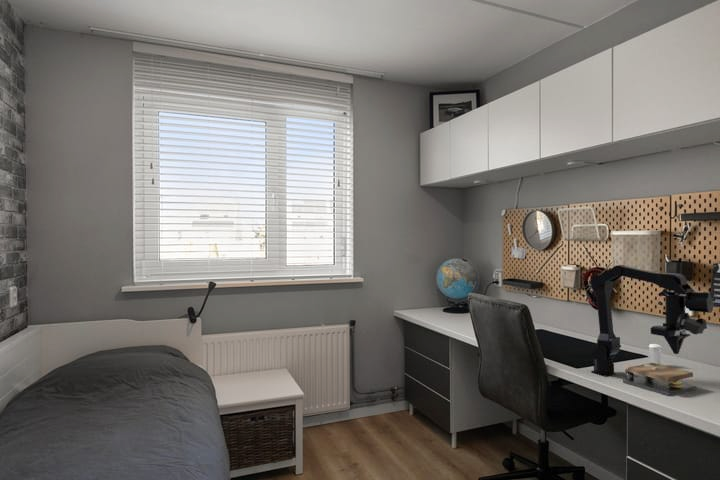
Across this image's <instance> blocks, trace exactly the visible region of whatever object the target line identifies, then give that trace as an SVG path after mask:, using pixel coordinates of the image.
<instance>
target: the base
mask: <svg viewBox="0 0 720 480" xmlns="http://www.w3.org/2000/svg"><path fill="white" fill-rule="evenodd" d="M634 374H635V373H633V372H631V373H626V372H625V375H626V378H623V379H622V383H623V384H626V385H630V386H633V387H636V388H640V389H643V390H646V391H650V392H654V393H657V394H660V395H663V396H666V397H669V396H674V395H679V394H682V393H686V392H690V391H695V390H697V388H698V387H697V385H695V384H691V383H687V382H683V381H682V379H680V380H675V381H671V382H666V381H662V380H659V379H655V378H651V377H648V376H644V375H638V376H634Z"/></svg>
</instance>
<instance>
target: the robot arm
mask: <svg viewBox="0 0 720 480" xmlns="http://www.w3.org/2000/svg"><path fill="white" fill-rule="evenodd" d="M622 277H623V278H624V277H625V278H630V279H635V280H636V281H637V280H638V281H643V282H647V283H652V284H654V285H656V286H657V287H660V288H662V290H661V291H660V292H659V293H657V295H658V297H659V296H660V297H665V298H664V305H665V307H664V310H665V311H662V315H663V316H664V315H665V322H662V325H661V324H660V325H653V326H651V327H650V334H651V335H656V336H661V337H663V338H664V339H665V341H666V342H667V344H668V346H669V347H670V349H671V351H672V352H673V354H675V355H678V354H680V351H681V348H682V345H683V342H684V340H685V339H686V338H688V337H690V336H691V334H693V335H698V334H699V335H700V334H703V333H704V330H706V329H707V328H708V326H707V320H706V319H705V318H702V317H700V318H697V319H695V318H691V317H690V314H689V312H697V313H698V312H699V313H705V314H706V313H708V314H711V313H712V312H713V310H714V307H715V306H714V301H713V297H712V296H711V292H708V291H704V292H702V291H699V292H698V291H695V290H694V289H693V288H692V286H691V285H690V284H689V283H688V280H687V278H686V277H685V275H683V274H682V273H674V272H673V273H669V272H656V271H655V272H654V271H651V270H650V271H649V270H646V269H641V268H635V267H631V266H630V267H629V266H626V265H624V264H620V265H619V264H617V265H614V266H613V267H612V268H610V269H608V270H606V271H603V272H602V273H600V274H594V275H593V276H592V277H590V284H591V289H592V292H593V294H594V295H595V297H596V305H597V315H598V316H597V317H598V326H599V327H598V328H599V333H598V337H597V340H596V348H595V349H593V351H591V352H590V353H589V354H590V358H591V359H593V370H590V373H593V374H596V375H599V376H602V377H603V376H604V377H608V376H609V377H610V376H614V375H617V372H615V364H614V359H613V358H615V356H616V354H618V353H619V352H620V348H622V345H621V337H620V336H616V335H615V333H614V325H613V315H612V303H611V295H612V293H613V290H614V282H616V281H619V280H620V279H621V278H622ZM686 309H688V311H689V312H686ZM687 332H690V333H691V334H690V333H687Z"/></svg>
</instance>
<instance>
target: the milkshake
mask: <svg viewBox="0 0 720 480" xmlns="http://www.w3.org/2000/svg"><path fill="white" fill-rule="evenodd" d="M664 344H665V343H664V342H662V344H661V345H660V344H657V343H650V344H649V345H648V351H649V357H650V358H649V360H650V363H656V364H660V365H661V361H662V360H661V359H662V347H663V345H664Z"/></svg>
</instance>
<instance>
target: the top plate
mask: <svg viewBox="0 0 720 480" xmlns="http://www.w3.org/2000/svg"><path fill="white" fill-rule="evenodd" d="M624 372H625V374H626V373H631V372H632V373H634V374H637V375H639V376H643V375H644V376H648V377H651V378H655V379H659V380H662V381H666V382H671V381H675V380H680V379H681V380H684V379H689V378H693V376H694V373H693V371H689V370H684V369H680V368H676V367H672V366H668V365H664V364H661V363H660V364H656V363H651V362H650V363H643V364H639V365H633V366H629V367H627V368H625V369H624Z"/></svg>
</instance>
